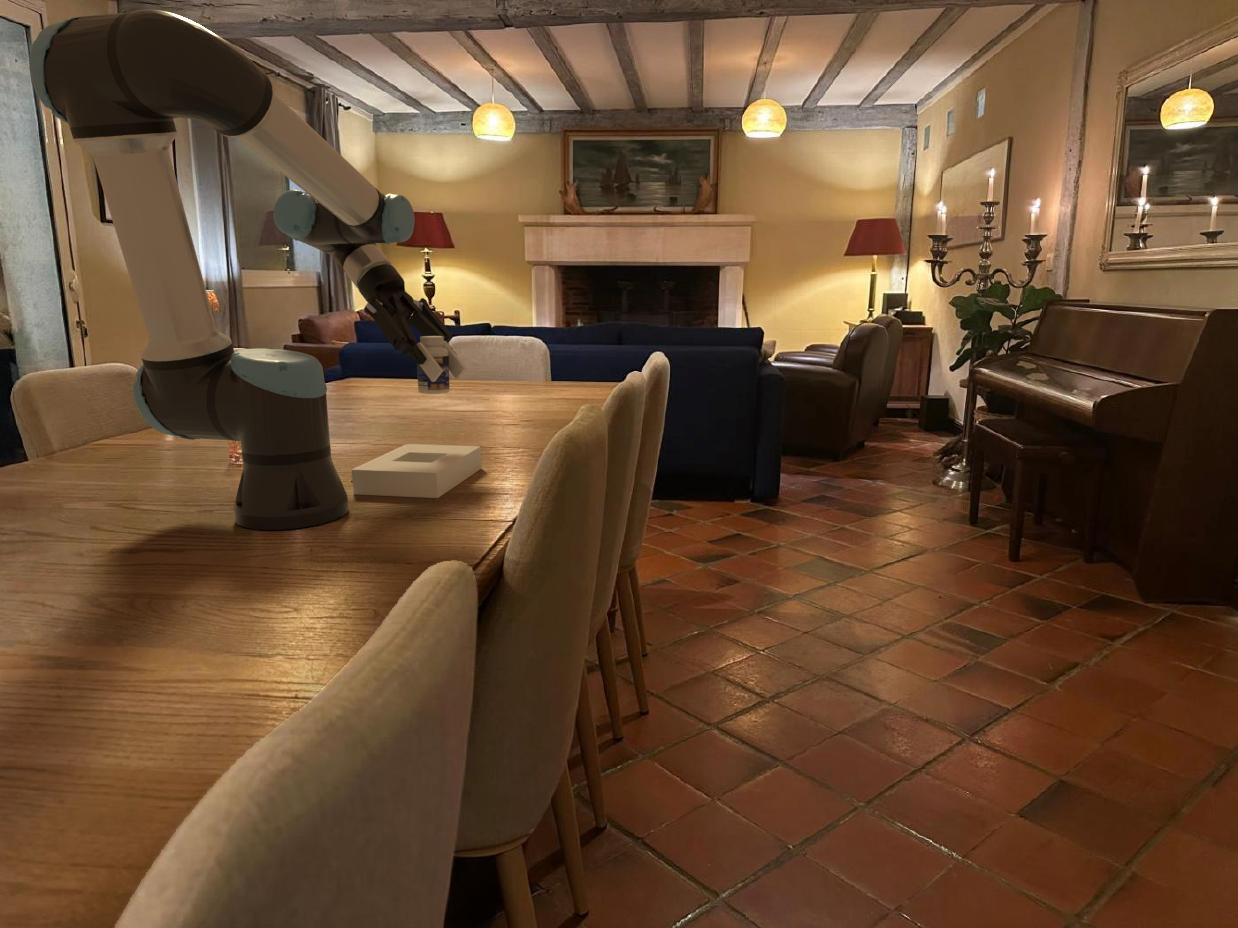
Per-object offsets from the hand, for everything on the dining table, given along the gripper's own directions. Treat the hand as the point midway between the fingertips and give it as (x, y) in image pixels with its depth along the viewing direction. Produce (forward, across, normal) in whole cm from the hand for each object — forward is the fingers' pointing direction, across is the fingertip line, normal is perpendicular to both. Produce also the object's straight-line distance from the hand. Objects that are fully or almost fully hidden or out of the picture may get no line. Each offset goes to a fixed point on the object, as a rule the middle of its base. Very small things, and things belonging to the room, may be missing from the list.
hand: (449, 374), depth 139 cm
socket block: (+12, +8, -12) cm, 19 cm away
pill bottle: (0, 0, -5) cm, 5 cm away
